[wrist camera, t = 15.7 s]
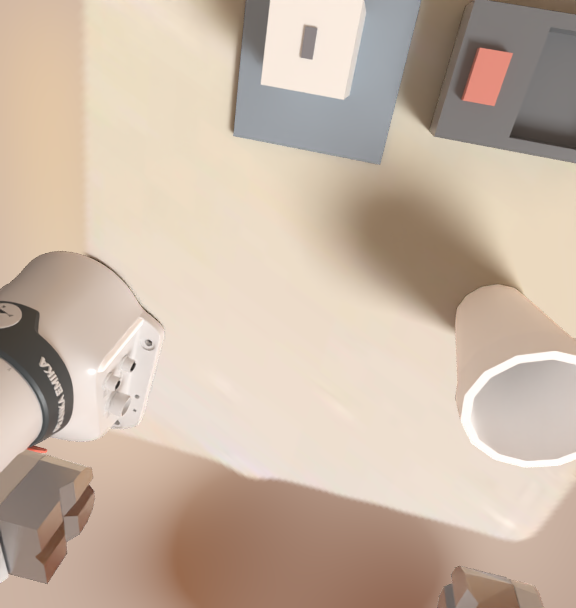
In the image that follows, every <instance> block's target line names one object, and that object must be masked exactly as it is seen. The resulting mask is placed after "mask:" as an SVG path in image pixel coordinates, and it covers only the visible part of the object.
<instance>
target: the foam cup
mask: <svg viewBox="0 0 576 608" xmlns="http://www.w3.org/2000/svg"><path fill="white" fill-rule="evenodd" d="M455 337H456V362H457V388H456V395H455V400H456V404H457V408H458V412H459V417H460V421H461V423H462V425H463V427H464V429H465V431H466V433H467V435H468V438H469V440H470V442H471V443H472V444H473V445H474V446H476V447H477V448H479V449H480V450H481V451H483V452H484V453H485V454H487V455H488V456H490V457H491V458H492V459H494V460H497V461H501V462H505V463H509V464H513V465H517V466H521V467H543V466H559V465H562V464H565V463H567V462H570V461H573V460H575V459H576V338H572V337H571V336H570V335H569V334H568V333H567V332H565V331H564V330H563V329H562V328H561V327H560V326H559V325H558V324H556V323H555V322H554V321H553V320H552V319H551V318H550V317H548V316H547V315H546V314H545V313H544V312H543V311H542V310H541V309H539V308H538V307H537V306H536V305H535V304H534V303H533V302H531V301H530V300H529V299H528V298H527V297H525V296H524V295H523V294H522V293H520V292H519V291H518V290H517V289H515V288H513V287H509V286H504V285H500V284H495V285H489V286H483V287H480V288H478V289H476V290H475V291H473V292H471V293H470V294H468V295H466V296H465V298H464V299H463V300H462V302H461V303H460V305H459V306H458V307H457V311H456V319H455Z"/></svg>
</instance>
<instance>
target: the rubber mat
mask: <svg viewBox="0 0 576 608" xmlns="http://www.w3.org/2000/svg"><path fill="white" fill-rule="evenodd" d="M364 2H365V8H366V17H365V22H364V27H363V32H362V37H361V42H360V47H359V52H358V57H357V61H356V66H355V71H354V76H353V81H352V86H351V91H350V95H349V96H348V97H347V98H345V99H344V100H342V99H337V98H331V97H326V96H320V95H315V94H310V93H304V92H299V91H293V90H288V89H283V88H277V87H272V86H266V85H261V77H262V68H263V59H264V50H265V42H266V33H267V24H268V15H269V7H270V0H246V5H245V16H244V27H243V37H242V48H241V59H240V70H239V81H238V92H237V103H236V114H235V125H234V135H233V136H236V137H241V138H247V139H252V140H257V141H262V142H267V143H272V144H277V145H282V146H287V147H292V148H298V149H303V150H308V151H313V152H318V153H323V154H328V155H333V156H338V157H343V158H349V159H354V160H359V161H364V162H369V163H374V164H379V165H380V163H381V159H382V155H383V151H384V147H385V143H386V139H387V135H388V131H389V127H390V123H391V119H392V115H393V111H394V107H395V103H396V99H397V95H398V91H399V87H400V83H401V79H402V75H403V71H404V67H405V63H406V59H407V55H408V51H409V47H410V43H411V39H412V35H413V31H414V27H415V23H416V20H417V16H418V12H419V8H420V4H421V0H364Z"/></svg>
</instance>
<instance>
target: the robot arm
mask: <svg viewBox="0 0 576 608" xmlns="http://www.w3.org/2000/svg"><path fill="white" fill-rule="evenodd" d="M164 336H165V331H164V328H163V327H162V325H161V324H160V323H159V322H158V321H157V320H156V319H154V318H153V317H152V316H151V315H150V314H148V313H147V312H146V311H145V310H144V309H143V308H142V307H141V306H140V304H139V303H138V301H137V299H136V298H135V296H134V295H133V293H132V292H131V290H130V289H129V288H128V286H127V285H126V284H125V283H124V282H123V281H122V280H121V279H120V278H119V277H118V276H117V275H116V274H115V273H114V272H113V271H111V270H110V269H109V268H107V267H106V266H104V265H103V264H101V263H99V262H98V261H96V260H94V259H92V258H89V257H87V256H84V255H81V254H77V253H73V252H66V251H65V252H64V251H57V252H49V253H45V254H43V255H40V256H38V257H36V258H35V259H33V260H32V261H31V262H30V263H29V264H28V265H27V266H26V267H25V268H24V269H23V271H22V272H21V273H20V274H19V275H18V276H17V277H16V278H15V279H14V280H12V281H11V282H10V283H9V284H7V285H5V286H4V287H2V288H1V289H0V583H1V582H2V581H4V580H5V579H6V578H8V577H9V574H11V575H15V576H18V577H22V578H26V579H30V580H34V581H38V582H42V583H45V584H48V582H49V581H50V579H51V577H52V576H53V575H54V573H55V571H56V570H57V568H58V567H59V565H60V564H61V562H62V561H63V559H64V558H65V556H66V555H67V542H68V541H69V540H71V539H73V538H74V537H76V536H78V535H79V534H80V533H81V531H82V530H83V528H84V526H85V525H86V523H87V522H88V519H89V517H90V514H91V512H92V510H93V506H94V500H95V495H94V494H95V493H94V490H93V489H92V488H91V486H90V485H89V483H90V482H91V480H92V479H93V473H92V468H91V467H87V466H84V465H80V464H77V463H73V462H70V461H66V460H62V459H59V458H55V457H52V456H49V455H46V454H42V453H46V452H47V450H46V449H44V448H40V447H37V446H34V445H36V444H38V443H40V442H42V441H43V440H45V439H47V438H49V437H52V438H58V439H63V440H68V441H76V442H78V441H79V442H84V441H93V440H96V439H98V438H100V437H102V436H103V435H104V434H106V433H107V431H108V430H109V429H126V428H132V427H135V426H137V425H138V424H139V423H140V422H141V421H142V419H143V416H144V412H145V408H146V405H147V401H148V397H149V393H150V389H151V386H152V382H153V378H154V374H155V371H156V367H157V363H158V359H159V355H160V352H161V348H162V344H163V340H164ZM148 340H151V341H152V343H151V342H149V341H148ZM451 577H452V584H449V585H447V586H444V588H443V589H442V591H441V593H440V595H439V600H438V605H437V608H544V606H543V603H542V600H541V597H540V594H539V592H538V590H537V589H536V587H535V586H533V585H531V584H527V583H523V582H520V581H516V580H511V579H507V578H506V577H503V576H499V575H495V574H491V573H487V572H483V571H479V570H475V569H471V568H467V567H463V566H458V567H455V569H454V571H453V572H452V574H451Z"/></svg>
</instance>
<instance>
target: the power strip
mask: <svg viewBox="0 0 576 608" xmlns="http://www.w3.org/2000/svg"><path fill="white" fill-rule="evenodd" d="M429 131H430V132H431V134H432V135H433V136H434V137H440V138H445V139H450V140H456V141H461V142H466V143H471V144H477V145H482V146H487V147H493V148H498V149H503V150H508V151H514V152H519V153H524V154H530V155H535V156H540V157H546V158H551V159H556V160H561V161H567V162H572V163H576V14H569V13H563V12H557V11H551V10H545V9H539V8H532V7H526V6H520V5H514V4H508V3H502V2H495V1H489V0H473V1H472V2H470V3H469V4H468V5H466V6H465V10H464V13H463V17H462V20H461V23H460V27H459V30H458V34H457V37H456V40H455V44H454V47H453V51H452V54H451V58H450V61H449V64H448V68H447V71H446V75H445V78H444V81H443V85H442V88H441V92H440V95H439V99H438V102H437V105H436V109H435V112H434V116H433V119H432V122H431V126H430V129H429Z"/></svg>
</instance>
